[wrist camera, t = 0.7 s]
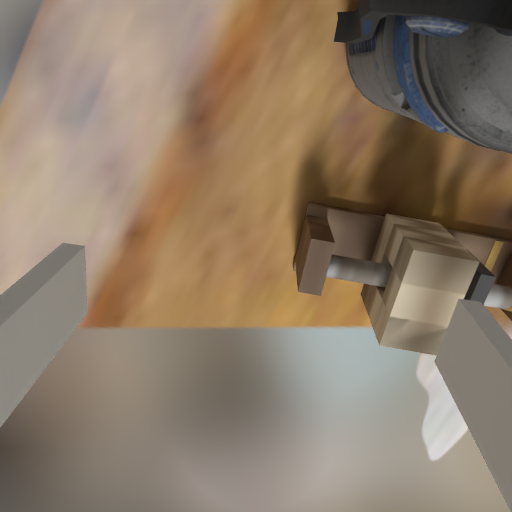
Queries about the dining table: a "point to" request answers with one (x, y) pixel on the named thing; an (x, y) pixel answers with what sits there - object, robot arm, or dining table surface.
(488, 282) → the dark grey flat block
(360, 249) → the pipe stand
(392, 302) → the sleeve
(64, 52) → the dining table surface
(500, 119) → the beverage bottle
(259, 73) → the dining table surface
